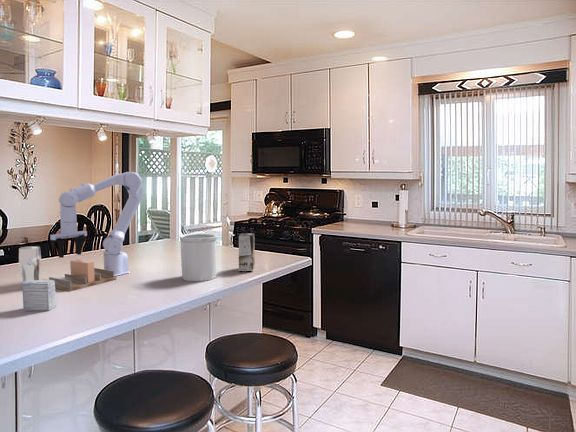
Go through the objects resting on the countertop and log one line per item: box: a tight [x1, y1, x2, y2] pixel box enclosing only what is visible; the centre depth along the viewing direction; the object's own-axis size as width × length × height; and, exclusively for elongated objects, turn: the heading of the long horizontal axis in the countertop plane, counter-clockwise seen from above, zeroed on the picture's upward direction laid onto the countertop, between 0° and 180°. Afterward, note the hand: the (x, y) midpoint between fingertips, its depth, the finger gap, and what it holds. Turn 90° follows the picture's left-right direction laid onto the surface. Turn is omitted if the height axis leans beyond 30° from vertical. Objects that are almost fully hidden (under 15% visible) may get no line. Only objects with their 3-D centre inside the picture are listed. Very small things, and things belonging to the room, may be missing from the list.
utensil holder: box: [179, 232, 218, 282], centre depth 176 cm, size 15×15×18 cm
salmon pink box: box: [69, 259, 95, 283], centre depth 166 cm, size 10×3×8 cm, turn 63°
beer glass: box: [18, 245, 42, 285], centre depth 158 cm, size 7×7×15 cm
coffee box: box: [238, 232, 256, 272], centre depth 191 cm, size 9×6×16 cm
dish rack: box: [48, 267, 117, 292], centre depth 166 cm, size 20×13×4 cm, turn 152°
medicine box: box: [21, 279, 57, 312], centre depth 133 cm, size 8×4×9 cm, turn 92°
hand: (70, 255), depth 172 cm, fingers open, 7 cm apart
